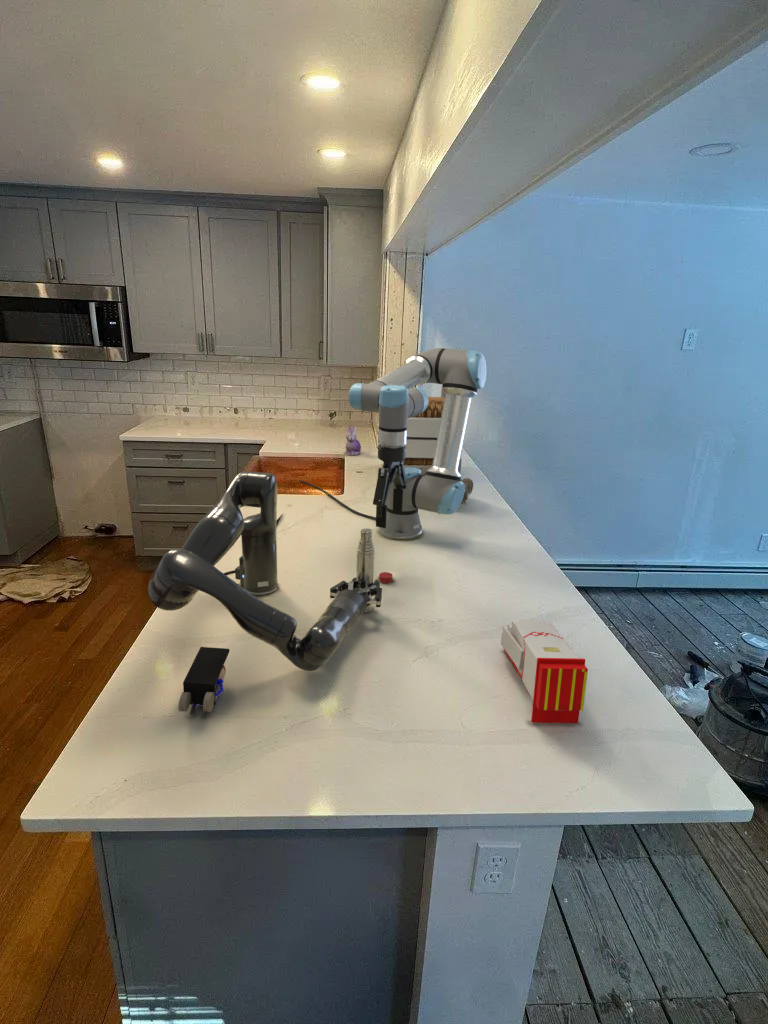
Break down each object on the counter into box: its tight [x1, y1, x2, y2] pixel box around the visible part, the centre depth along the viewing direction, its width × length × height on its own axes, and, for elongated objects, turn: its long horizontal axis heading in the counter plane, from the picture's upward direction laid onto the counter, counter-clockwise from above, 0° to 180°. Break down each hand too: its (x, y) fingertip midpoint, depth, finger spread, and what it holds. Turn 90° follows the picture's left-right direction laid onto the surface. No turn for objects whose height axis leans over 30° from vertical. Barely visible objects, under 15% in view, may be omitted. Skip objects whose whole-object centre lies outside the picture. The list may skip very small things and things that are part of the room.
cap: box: [378, 571, 394, 584], centre depth 165 cm, size 4×4×2 cm
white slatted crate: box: [383, 389, 463, 475], centre depth 268 cm, size 34×33×41 cm
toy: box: [500, 620, 589, 724], centre depth 121 cm, size 12×13×30 cm
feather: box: [276, 513, 284, 527], centre depth 210 cm, size 2×28×2 cm
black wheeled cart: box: [178, 646, 230, 717], centre depth 112 cm, size 7×8×15 cm
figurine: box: [344, 425, 362, 456], centre depth 303 cm, size 9×10×15 cm
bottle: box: [355, 528, 375, 614], centre depth 146 cm, size 4×4×22 cm
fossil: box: [459, 477, 474, 508], centre depth 233 cm, size 22×10×15 cm
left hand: (367, 581), depth 150 cm, fingers open, 4 cm apart
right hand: (389, 518), depth 159 cm, fingers open, 13 cm apart
